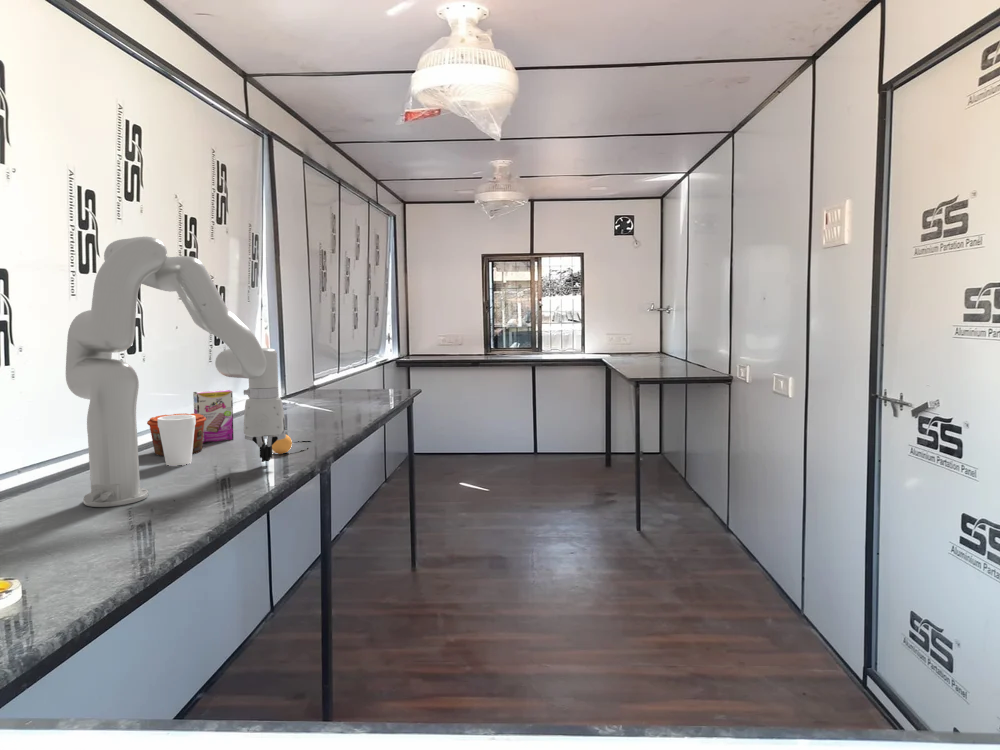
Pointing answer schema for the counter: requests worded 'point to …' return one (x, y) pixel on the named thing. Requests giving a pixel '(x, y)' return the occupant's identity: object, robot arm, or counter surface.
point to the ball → (282, 445)
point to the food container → (157, 438)
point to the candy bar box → (215, 414)
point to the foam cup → (177, 438)
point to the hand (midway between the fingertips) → (266, 460)
